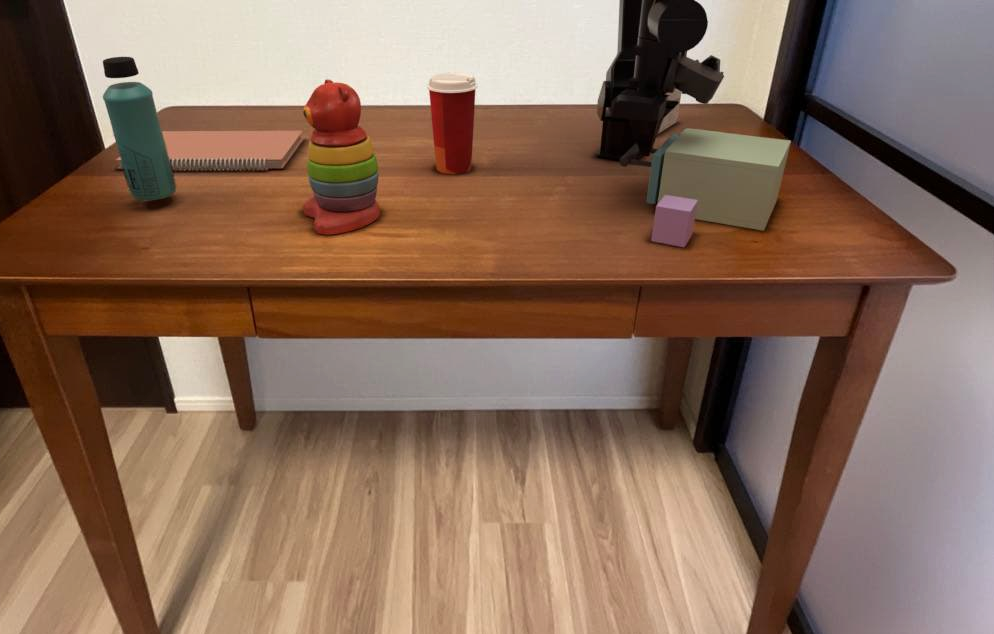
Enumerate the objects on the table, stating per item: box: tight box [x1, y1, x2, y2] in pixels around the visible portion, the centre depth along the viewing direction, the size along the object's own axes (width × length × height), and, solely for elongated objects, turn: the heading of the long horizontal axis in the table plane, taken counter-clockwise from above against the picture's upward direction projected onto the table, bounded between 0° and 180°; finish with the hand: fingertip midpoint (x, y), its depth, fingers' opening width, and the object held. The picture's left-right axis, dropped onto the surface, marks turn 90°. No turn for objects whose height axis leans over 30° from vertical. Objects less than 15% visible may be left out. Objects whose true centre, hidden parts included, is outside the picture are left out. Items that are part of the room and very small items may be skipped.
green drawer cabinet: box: [657, 127, 792, 232], centre depth 98 cm, size 14×12×9 cm
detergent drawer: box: [618, 133, 680, 205], centre depth 99 cm, size 18×10×7 cm, turn 62°
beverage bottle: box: [102, 56, 178, 202], centre depth 99 cm, size 6×7×20 cm
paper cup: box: [426, 72, 479, 175], centre depth 111 cm, size 8×8×14 cm
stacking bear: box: [302, 78, 381, 235], centre depth 94 cm, size 11×10×18 cm
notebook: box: [114, 130, 305, 172], centre depth 122 cm, size 27×17×2 cm, turn 88°
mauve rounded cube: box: [650, 195, 698, 248], centre depth 90 cm, size 4×4×5 cm
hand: (645, 155), depth 101 cm, fingers closed
